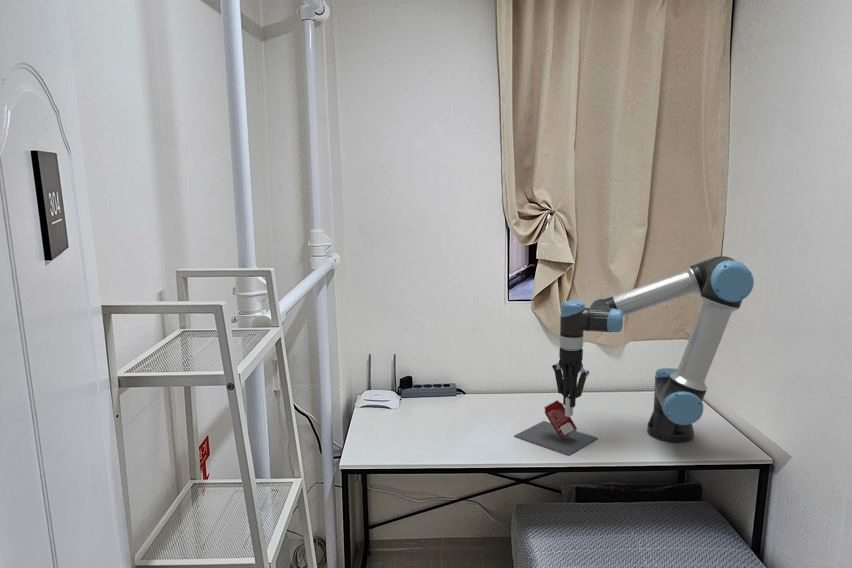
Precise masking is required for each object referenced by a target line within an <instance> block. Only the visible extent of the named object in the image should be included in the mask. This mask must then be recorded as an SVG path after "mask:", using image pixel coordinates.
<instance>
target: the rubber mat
mask: <svg viewBox="0 0 852 568" xmlns="http://www.w3.org/2000/svg"><path fill="white" fill-rule="evenodd" d="M513 436H514V438H517V439H520V440H522V441H525V442H529V443H532V444H534V445H537V446H540V447H543V448H546V449H549V450H551V451H554V452H557V453H560V454H562V455H566V456H568V457H570V456H571V455H573V454H575V453H577V452H579V451H581V450H582V449H583V448H585V447H587V446H588V445H590V444H592V443H593V442H595V441H597V440H598V439H599V438H598V437H596V436H592V435H591V434H590V435H589V434H587V433H584V432H580V431H578V430H576V432H575V433H573V434H572V435H570V436H568V437H566V438H564V439H562V438H559V437H558V435H557V433H556V431H555V430H554V428H553V426H552V424H551V423H550V421H546V420H542V421H540V422H538V423H537V424H534V425H533V426H531V427H529V428H526V429H525V430H523V431H521V432H518V433H515V434H514V435H513Z"/></svg>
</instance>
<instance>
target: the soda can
mask: <svg viewBox="0 0 852 568" xmlns="http://www.w3.org/2000/svg"><path fill="white" fill-rule="evenodd" d="M543 409H544V413H545V416H546V418H547V420H548V422H549V423H551V424H552V426H553V428H554V430H555V431H556V433H557V435H558V437H559V438H562V439H564V438H566V437H568V436H570V435H572V434H573V433H575V432H576V431H578V428H577V426H576V425H575V423H574V421H573V419H572V418H571V416H570V417H567V416H565V405H563V402H560V401H559V399H556V400H554V401H553V402H551V403H549V404H548V405H546V406H544V407H543Z"/></svg>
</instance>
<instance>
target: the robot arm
mask: <svg viewBox="0 0 852 568" xmlns="http://www.w3.org/2000/svg"><path fill="white" fill-rule="evenodd" d="M754 282H755V281H754V276H753V274H752V272H751V270H750V269H749V268H748V267H747V266H746V265H745V264H744V263H742V262H741V261H738V260H735V259H734V258H733V257H730V256H729V257H728V256H723V255H722V256H721V255H720V256H715V257H712V258H707V259H706V260H704V261H703V260H702V261H700V262H697V263H696V264H693V265H690V266H688V267H687V268H686V270H685V271H682V272H679V273H675V274H673V275H671V276H668V277H664V278H662V279H659V280H656V281H653V282H649V283H648V284H644V285H641V286H639V287H636V288H633V289H630V290H627V291H624V292H621V293H619V294H616V295H613V296H610V297H607V298H597V299H595V300H593V301H592V303H591V304H590V307H586V306H585V302H583V301H582V300H581V301H580V300H574V299H573V300H571V299H570V300H566V301H563V302H561V306H560V323H559V324H560V326H559V330H560V331H559V332H560V334H559V354H558V355H559V360H558V363H554V364H553V365H551V366H552V367H551V368H552V370H553V371H554V375H555V382H556V387H557V393H558V394H561V395H562V397H563V399H562V400H563V401H562V404H563V406H564V407H565V416H567V417H570V418H571V417H572V416H574V408H575V407H576V399H577V398H580V397H581V396H582V395H583V390H584V388H585V384H586V381H587V377H588V376H589V374H590V371H589V370H586V369H585V368H584V365H583V364H584V363H583V356H584V354H583V353H584V349H583V348H584V332H597V333H598V332H599V333H600V332H601V333H611V334H612V333H620V332H622V329H623V323H624V316H627V315H629V314H633V313H636V312H639V311H644V310H646V309H648V308H652V307H655V306H657V305H660V304H663V303H667V302H670V301H673V300H675V299H678V298H682V297H685V296H688V295H691V294H694V293H696V294H698V295H700V298H701V300H702V305H701V308H700V310H699V312H698V315H697V318H696V321H695V323H694V326H693V328H692V330H691V334H690V337H689V339H688V342H687V343H686V344H687V345H686V347H685V349H684V351H683V354H682V357H681V360H680V362H679V366H678V367H677V368H671V367H669V368H668V367H664V368H663V367H662V368H658V369H656V371H655V377H654V397H653V411H652V413H651V415H650V418H649V421H648V422H647V426H646V431H647V434H648V435H649V436H651V437H652V438H655V439H657V440H660V441H663V442H669V443H687V442H690V441H691V440H693V439H694V435H695V430H694V426H693V424H694V423H696V422H697V421H699V420H700V419H701V418H702V416H703V412H704V404H703V401H704V399H705V396H706V393H707V390H708V386H707V385H706V383H705V381H706V379H707V377H708V376H707V375H708V373H709V372H710V369H711V366H712V363H713V360H714V359H715V355H716V353H717V351H718V348H719V346H720V343H721V341H722V338H723V335H724V334H725V331H726V328H727V325H728V323H729V321H730V319H731V315H732V313H733V312H735V311H738V310H739V309H740V308H741V304H742V302H743V301H744V299H746V298H747V297H749V295H750V294H751V292H752V291H753V289H754V284H755V283H754ZM578 377H579V378H578Z"/></svg>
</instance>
